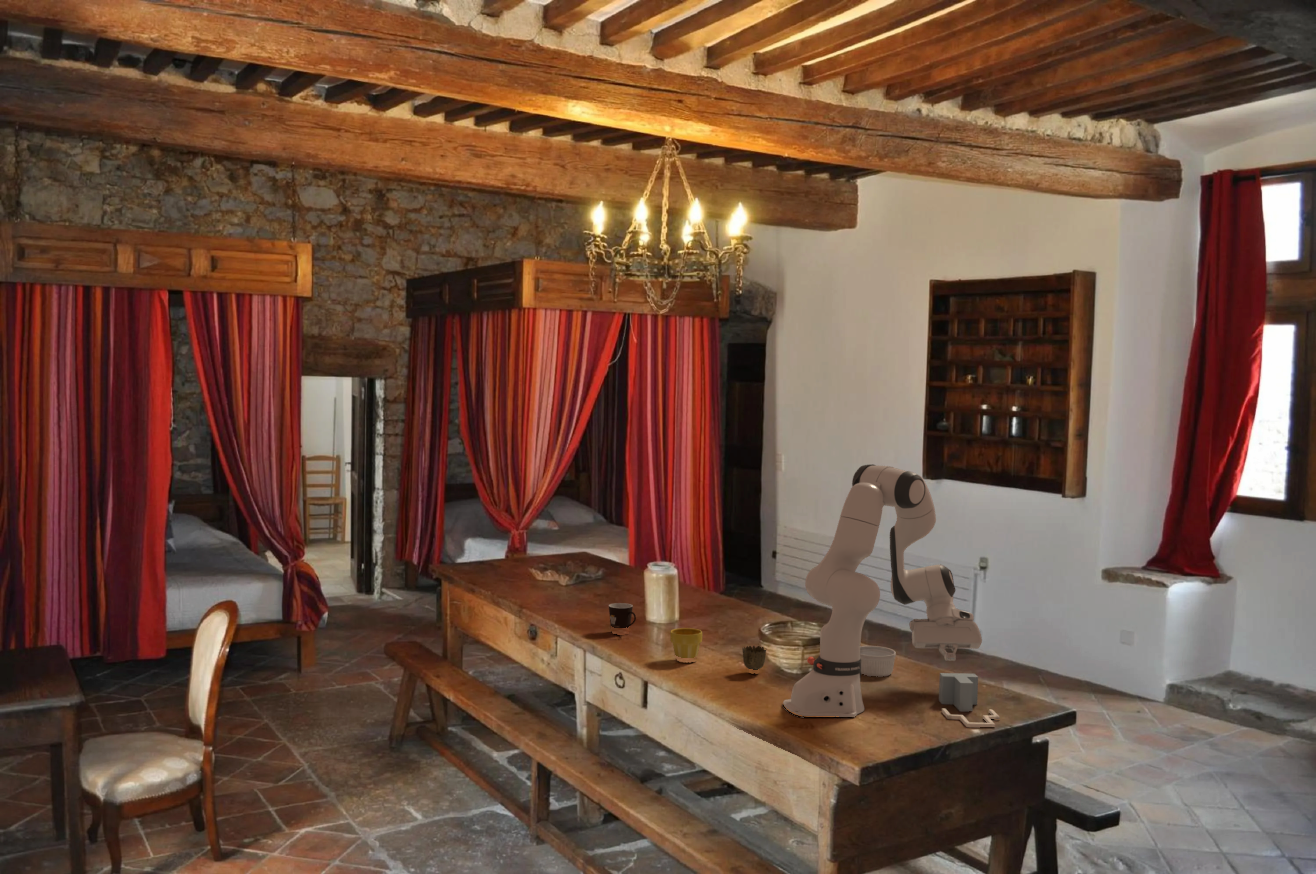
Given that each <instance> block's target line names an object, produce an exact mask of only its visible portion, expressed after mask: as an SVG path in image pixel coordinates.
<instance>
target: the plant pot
mask: <svg viewBox="0 0 1316 874" xmlns="http://www.w3.org/2000/svg"><path fill="white" fill-rule="evenodd" d="M669 634H670V637H669V638H670V640H669V641H670V642H671V643H672V647H673V653H674V656H675V655H676V656H678V657H681V658H694V657H696V656H697V657H698V654H699V649H700V645H701V643H702V642H703V631H702V630H701V629H697V628H693V627H692V628H691V627H680V628H673V629H671V630H670V633H669Z"/></svg>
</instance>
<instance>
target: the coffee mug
mask: <svg viewBox="0 0 1316 874" xmlns="http://www.w3.org/2000/svg"><path fill="white" fill-rule="evenodd" d="M633 607H634V606H633V604H631V603H625V602H624V603H621V602H618V603H617V602H615V603H610V604H608V613H609V622H610V627H611V626H612V627H614V628H626V627H627V628H628V627H629V626H630V627H631V626H632V625H634V623H635V622H636V621H637V620H636V619H637V616H636V614H635V612H634V611H633ZM632 615H633V621H632Z"/></svg>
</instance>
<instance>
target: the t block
mask: <svg viewBox="0 0 1316 874" xmlns="http://www.w3.org/2000/svg"><path fill="white" fill-rule="evenodd" d="M938 682H939V684H938V687H939V688H938V701H939V702H940V704H941V705H954V707H955V708H956V709H957V710H958V711H959V712H969V711H972V712H973V706H975V705H976V706H977V705H978V693H979V691H978V690H979V676H978V675H976V673H963V672H962V673H960V672H959V673H955V672H953V673H950V672H939V681H938Z"/></svg>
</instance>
